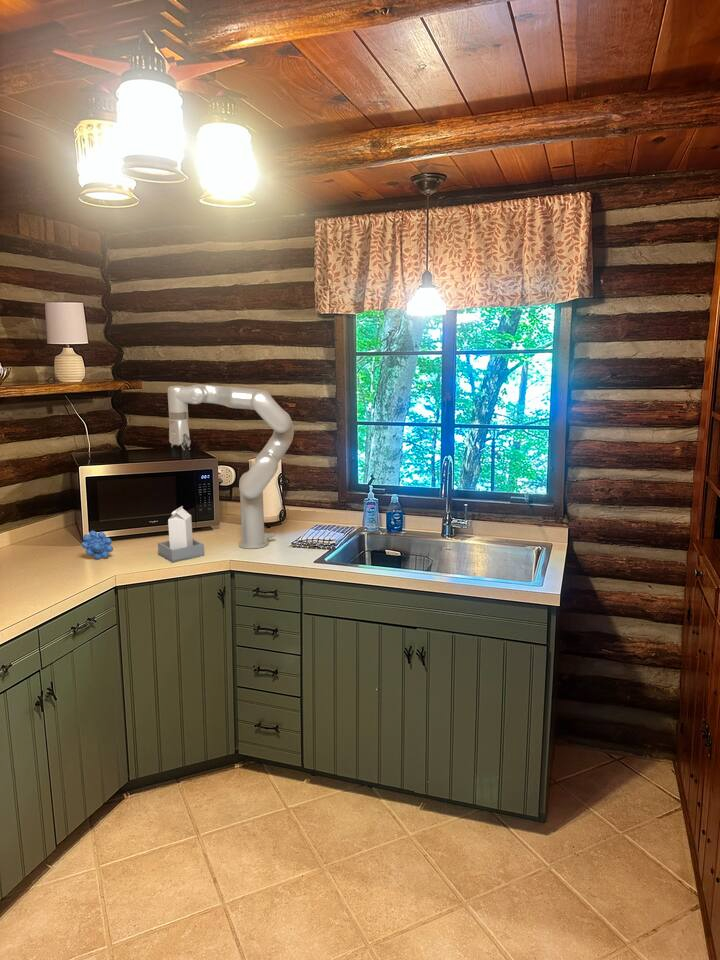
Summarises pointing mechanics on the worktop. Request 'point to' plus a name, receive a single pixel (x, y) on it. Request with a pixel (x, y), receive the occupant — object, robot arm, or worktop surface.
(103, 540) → the grapes
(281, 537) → the worktop surface
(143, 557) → the worktop surface
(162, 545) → the bin
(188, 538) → the milk carton
